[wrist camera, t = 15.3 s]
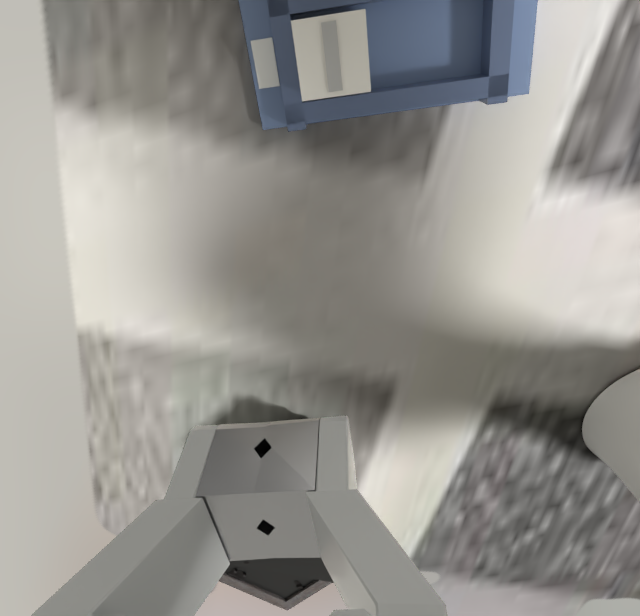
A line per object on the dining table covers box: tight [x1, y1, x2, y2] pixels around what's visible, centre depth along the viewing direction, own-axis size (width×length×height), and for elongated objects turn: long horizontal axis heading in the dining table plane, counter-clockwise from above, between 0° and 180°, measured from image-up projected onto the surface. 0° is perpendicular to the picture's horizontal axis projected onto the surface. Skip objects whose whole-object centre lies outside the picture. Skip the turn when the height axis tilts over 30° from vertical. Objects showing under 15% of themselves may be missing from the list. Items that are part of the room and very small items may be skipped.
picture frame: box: [219, 558, 334, 610], centre depth 61 cm, size 16×2×21 cm
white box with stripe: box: [291, 9, 371, 101], centre depth 27 cm, size 4×4×5 cm
